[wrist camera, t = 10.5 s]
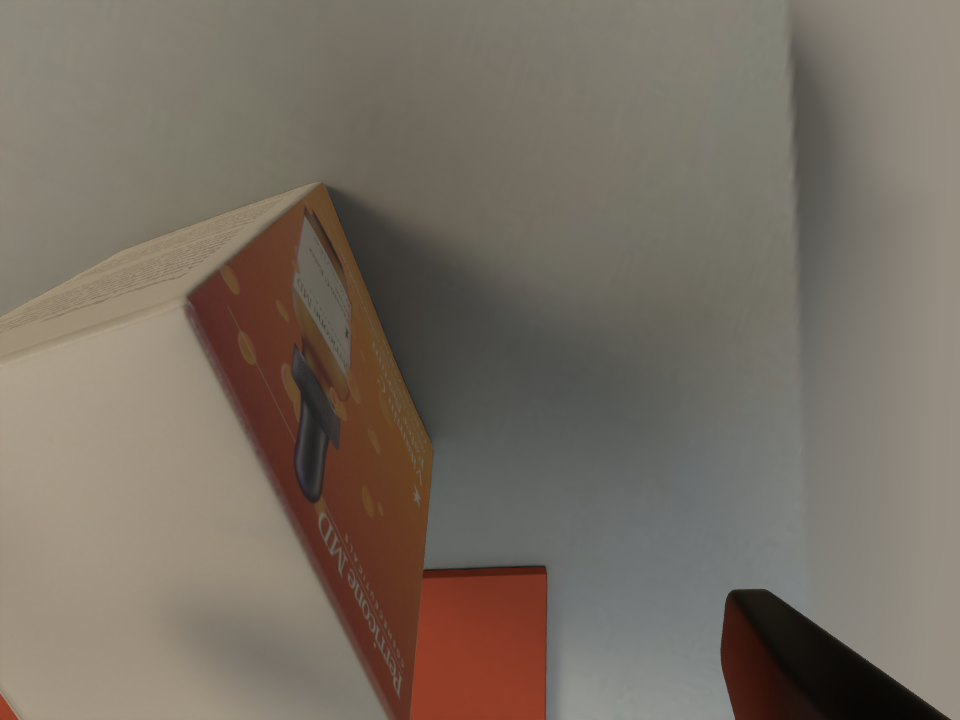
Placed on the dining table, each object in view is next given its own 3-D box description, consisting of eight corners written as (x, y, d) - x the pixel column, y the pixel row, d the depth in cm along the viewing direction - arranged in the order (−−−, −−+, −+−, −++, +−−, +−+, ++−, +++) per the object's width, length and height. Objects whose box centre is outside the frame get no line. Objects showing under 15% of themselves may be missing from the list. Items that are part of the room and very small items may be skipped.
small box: (436, 449, 22) (419, 763, 12) (251, 507, 23) (92, 854, 13) (325, 171, 19) (188, 292, 9) (117, 244, 20) (-218, 430, 10)
